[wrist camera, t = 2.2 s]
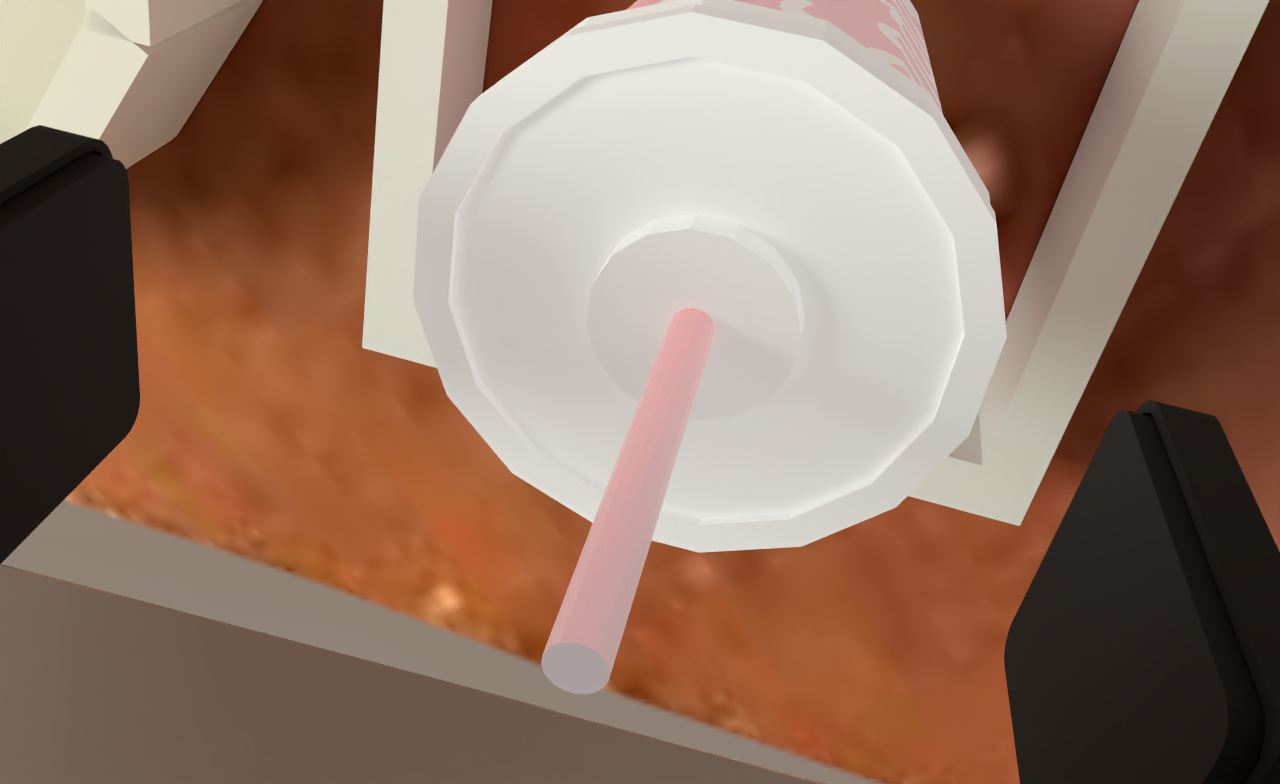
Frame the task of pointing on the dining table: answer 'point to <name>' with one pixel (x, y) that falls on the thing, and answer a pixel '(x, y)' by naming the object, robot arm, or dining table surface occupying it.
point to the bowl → (113, 66)
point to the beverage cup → (711, 283)
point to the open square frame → (1053, 285)
